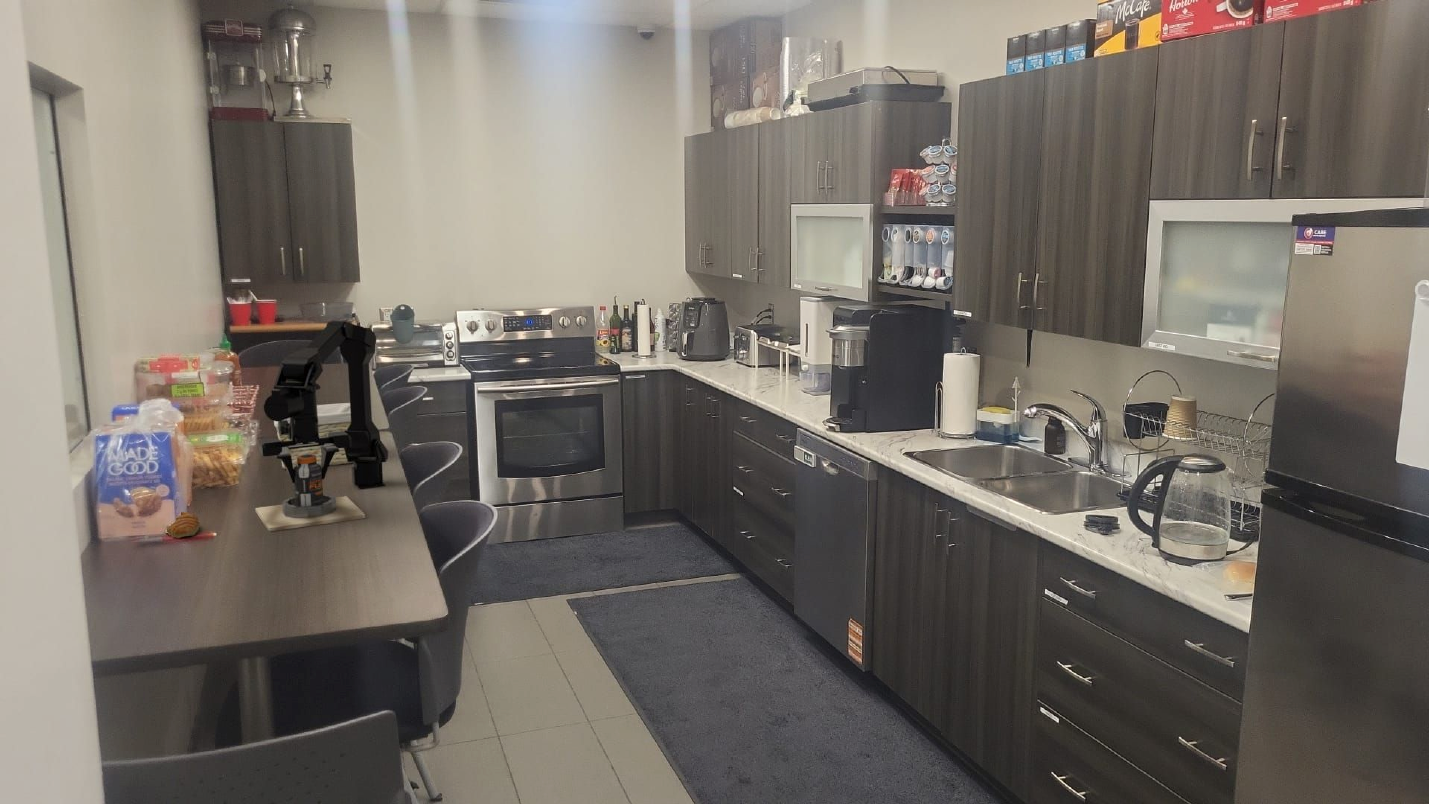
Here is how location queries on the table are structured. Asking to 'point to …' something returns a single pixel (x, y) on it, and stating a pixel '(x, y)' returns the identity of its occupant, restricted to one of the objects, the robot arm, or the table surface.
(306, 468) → the pill bottle
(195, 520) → the pastry
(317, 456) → the storage basket
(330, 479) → the table surface
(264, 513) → the ring holder
